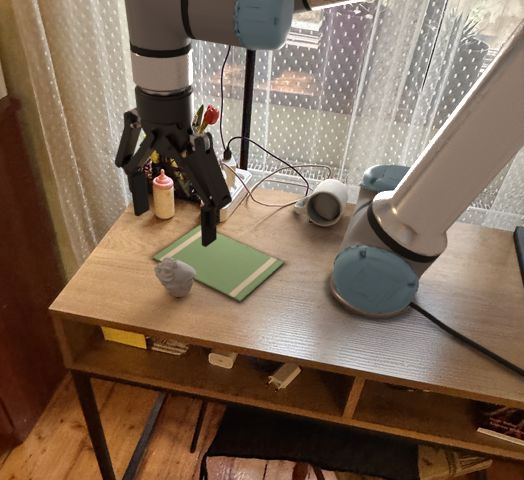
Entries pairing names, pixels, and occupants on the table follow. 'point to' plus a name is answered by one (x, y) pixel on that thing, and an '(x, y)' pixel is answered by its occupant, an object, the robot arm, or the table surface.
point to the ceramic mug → (324, 203)
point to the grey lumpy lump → (175, 276)
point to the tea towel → (222, 263)
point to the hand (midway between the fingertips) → (174, 227)
